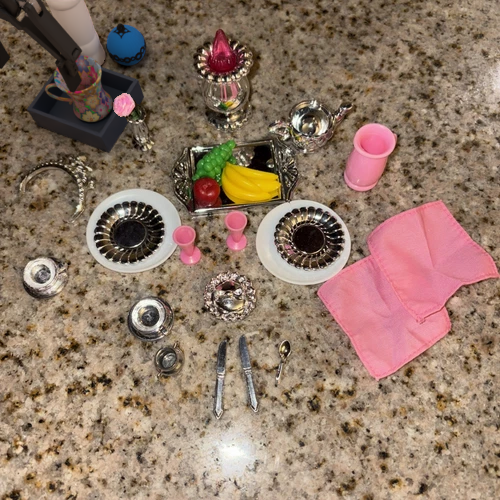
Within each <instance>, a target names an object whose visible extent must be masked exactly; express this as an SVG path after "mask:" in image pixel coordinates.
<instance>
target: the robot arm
mask: <svg viewBox="0 0 500 500" xmlns="http://www.w3.org/2000/svg"><path fill="white" fill-rule="evenodd" d="M22 11H23V12H24V15H23V16H22V18H21V19H20V20H18V17H19V16H20V15H21V13H22ZM0 20H3V21H5V22H7V23H9V24H10V25H11V26H13V28H15V29H16V30H18V31H23V32H24V33H25V34H27V35H28V36H29V37H30V38H31V39H32V40H33V41H35V42H36V43H37V44H38V45H40V47H41V48H43V49H44V50H45V51H46V52H47V53H48V54H50V55H51V56H52V57H53V58H54V59H55V62H54V64H55V65H56V68H58V70H59V72H60V73H61V75H62V77H63V79H64V81H65V83H66V85H67V87H68V89H69V91H70V92H72V93H74V92H75V91H76V89H77V88H78V86H79V85H80V83H81V81H82V79H81V77H80V75H79V73H78V70H79V68H78V66H77V64H76V60H77V59H78V57H79V56H80V54H81V53H82V49H81V48H80V47H79V46H78V45H77V44H76V42H75V41H74V40H73V39H72V38H71V37H70V35H69V34H68V33H67V32H66V31H65V30H64V28H63V27H62V26H61V25H60V24H59V23H58V21H57V20H56V19H55V18H54V17H53V15H52V13H51V11H50V10H49V9H47V7H46V5H45V3H44V2H43V0H0ZM10 59H11V56H10V54H9V53H8V51H7V49H6V48H5V46H4V45H3V43H2V41H1V40H0V70H3V68H4V67H5V66H6V64H7V63H8V62H9V60H10Z"/></svg>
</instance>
